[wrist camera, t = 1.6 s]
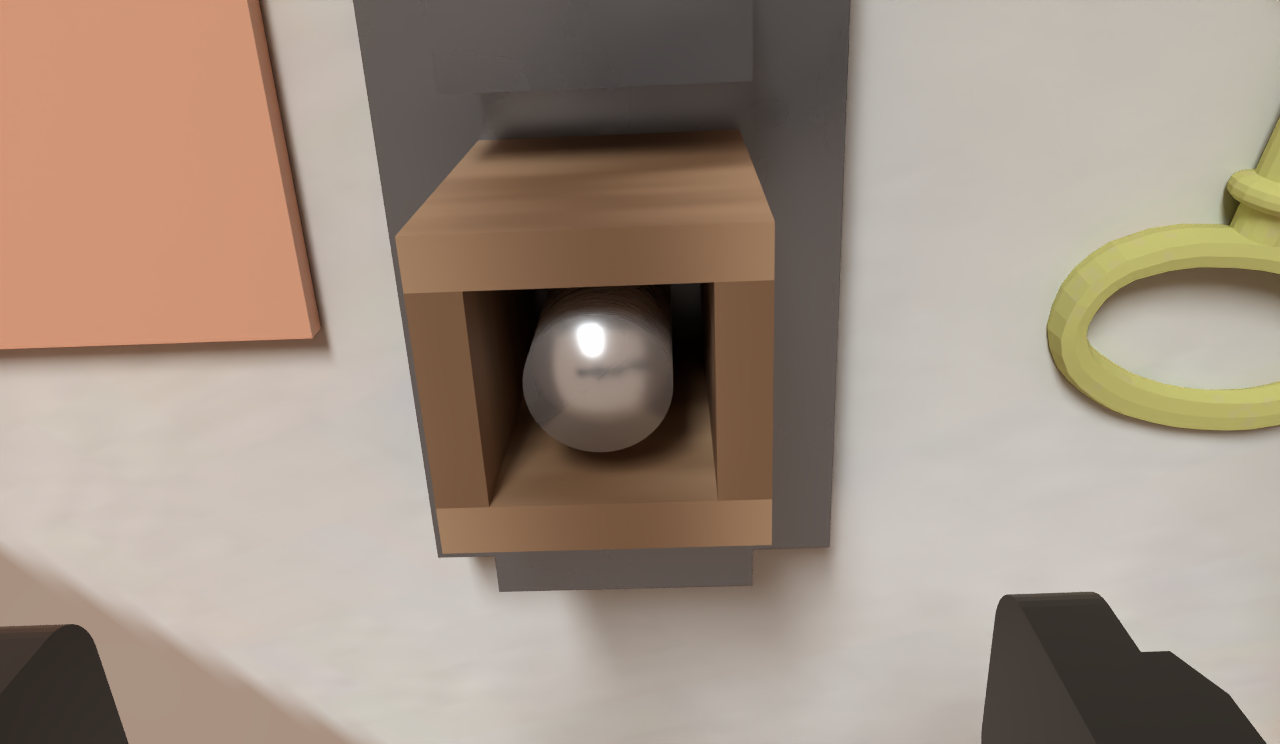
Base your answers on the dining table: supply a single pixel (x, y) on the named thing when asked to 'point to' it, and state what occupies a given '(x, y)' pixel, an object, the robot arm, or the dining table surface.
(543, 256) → the sleeve
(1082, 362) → the key
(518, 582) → the grey clamp base
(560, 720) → the dining table surface
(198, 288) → the tile
